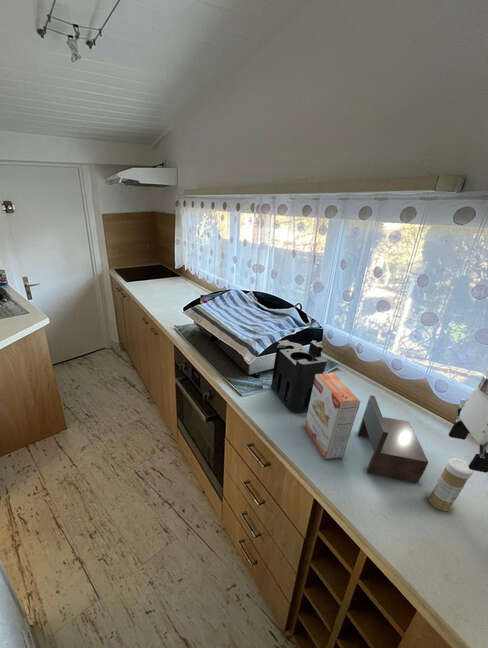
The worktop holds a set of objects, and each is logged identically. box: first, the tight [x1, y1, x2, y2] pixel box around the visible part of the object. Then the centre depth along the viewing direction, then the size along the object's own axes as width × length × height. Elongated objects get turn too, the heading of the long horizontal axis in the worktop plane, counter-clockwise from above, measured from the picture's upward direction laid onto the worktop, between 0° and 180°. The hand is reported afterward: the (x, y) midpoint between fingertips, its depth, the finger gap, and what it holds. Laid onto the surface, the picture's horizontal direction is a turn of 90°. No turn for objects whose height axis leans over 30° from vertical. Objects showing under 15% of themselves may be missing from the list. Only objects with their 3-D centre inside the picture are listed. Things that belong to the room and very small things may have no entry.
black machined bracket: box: [270, 339, 329, 413], centre depth 110 cm, size 12×21×22 cm, turn 13°
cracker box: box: [304, 372, 361, 460], centre depth 89 cm, size 14×6×21 cm, turn 5°
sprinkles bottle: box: [428, 457, 474, 512], centre depth 72 cm, size 5×5×13 cm
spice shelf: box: [357, 395, 429, 484], centre depth 85 cm, size 12×16×15 cm
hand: (466, 452), depth 67 cm, fingers open, 9 cm apart
